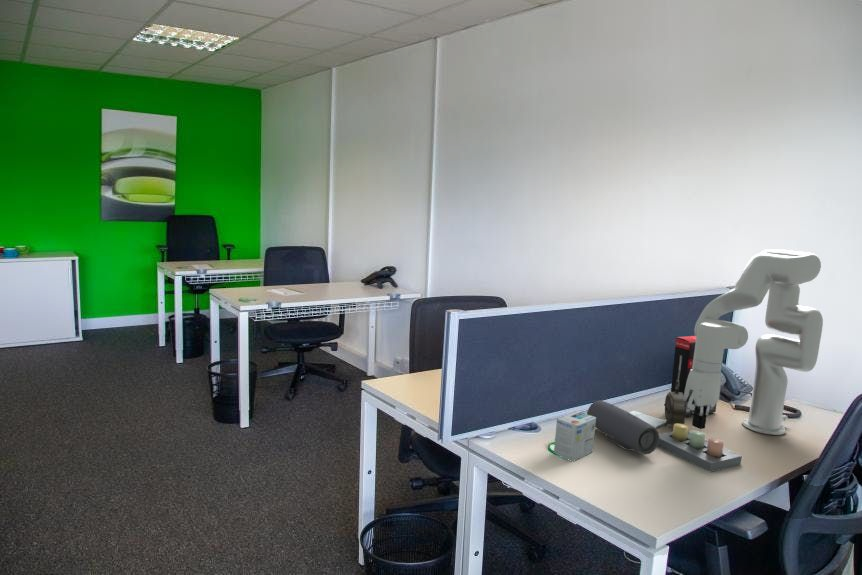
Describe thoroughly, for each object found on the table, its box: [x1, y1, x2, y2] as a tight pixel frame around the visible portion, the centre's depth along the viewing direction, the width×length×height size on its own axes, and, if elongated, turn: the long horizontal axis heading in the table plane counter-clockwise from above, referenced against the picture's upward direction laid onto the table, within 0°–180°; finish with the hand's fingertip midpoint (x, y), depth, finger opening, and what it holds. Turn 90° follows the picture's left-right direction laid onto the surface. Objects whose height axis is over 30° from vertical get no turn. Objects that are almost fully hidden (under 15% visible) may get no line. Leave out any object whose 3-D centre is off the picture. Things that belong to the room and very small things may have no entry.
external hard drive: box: [629, 410, 667, 430], centre depth 200 cm, size 2×8×12 cm
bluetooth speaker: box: [586, 399, 660, 455], centre depth 180 cm, size 23×9×10 cm, turn 23°
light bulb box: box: [553, 410, 596, 462], centre depth 170 cm, size 11×7×11 cm, turn 134°
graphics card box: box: [670, 335, 718, 418], centre depth 209 cm, size 17×7×27 cm, turn 117°
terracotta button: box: [706, 438, 725, 458], centre depth 170 cm, size 4×4×4 cm
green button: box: [689, 430, 706, 449], centre depth 175 cm, size 4×4×4 cm
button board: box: [657, 431, 743, 472], centre depth 175 cm, size 13×20×2 cm, turn 28°
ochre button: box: [672, 423, 689, 441], centre depth 180 cm, size 4×4×4 cm
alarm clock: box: [663, 380, 687, 427], centre depth 194 cm, size 11×5×16 cm, turn 169°
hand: (698, 427), depth 174 cm, fingers closed
